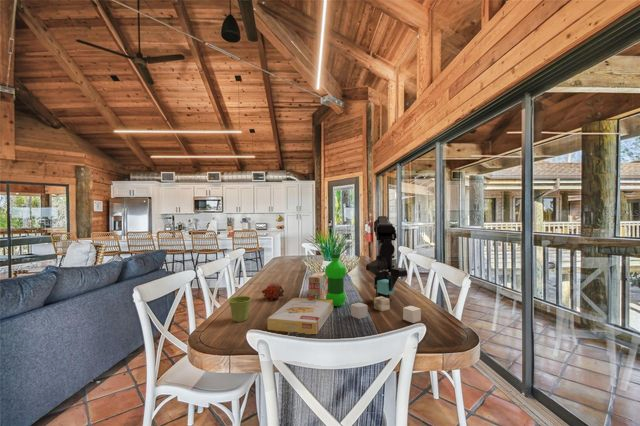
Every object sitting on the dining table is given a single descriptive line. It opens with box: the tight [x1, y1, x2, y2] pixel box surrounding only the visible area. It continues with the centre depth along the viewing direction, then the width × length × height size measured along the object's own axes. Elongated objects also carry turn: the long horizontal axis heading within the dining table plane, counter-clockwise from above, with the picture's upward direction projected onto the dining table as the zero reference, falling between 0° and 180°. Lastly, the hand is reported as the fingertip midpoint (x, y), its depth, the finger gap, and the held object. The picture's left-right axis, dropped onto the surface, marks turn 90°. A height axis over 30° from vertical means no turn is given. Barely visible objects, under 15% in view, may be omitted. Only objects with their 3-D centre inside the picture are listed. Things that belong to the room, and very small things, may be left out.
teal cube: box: [376, 279, 395, 295], centre depth 122 cm, size 5×5×5 cm
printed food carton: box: [308, 271, 328, 299], centre depth 157 cm, size 21×6×12 cm, turn 161°
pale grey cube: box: [350, 301, 368, 320], centre depth 124 cm, size 5×5×5 cm
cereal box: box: [266, 297, 334, 335], centre depth 121 cm, size 20×6×28 cm
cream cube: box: [402, 305, 422, 324], centre depth 119 cm, size 5×5×5 cm
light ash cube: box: [373, 296, 391, 312], centre depth 133 cm, size 5×5×5 cm
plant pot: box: [228, 295, 252, 323], centre depth 121 cm, size 9×9×9 cm
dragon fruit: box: [261, 283, 285, 301], centre depth 150 cm, size 8×8×12 cm
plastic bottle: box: [324, 252, 347, 307], centre depth 139 cm, size 10×10×25 cm
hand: (385, 289), depth 122 cm, fingers closed on teal cube, 5 cm apart
